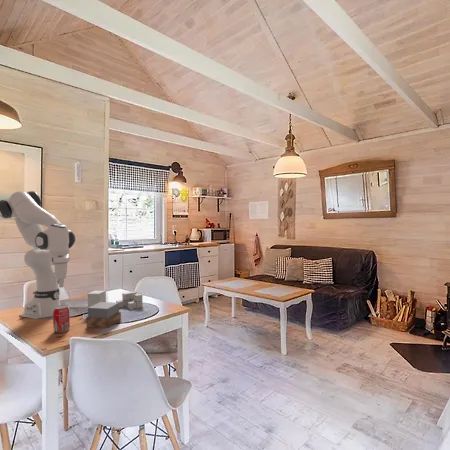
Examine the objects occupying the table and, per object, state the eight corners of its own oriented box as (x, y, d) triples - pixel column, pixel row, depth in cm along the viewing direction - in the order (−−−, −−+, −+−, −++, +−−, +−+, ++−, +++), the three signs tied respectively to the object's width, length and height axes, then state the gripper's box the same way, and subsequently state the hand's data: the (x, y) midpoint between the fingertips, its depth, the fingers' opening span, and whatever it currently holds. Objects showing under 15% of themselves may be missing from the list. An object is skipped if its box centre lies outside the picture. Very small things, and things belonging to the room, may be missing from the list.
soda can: (57, 328, 158) (56, 305, 157) (72, 328, 158) (71, 304, 158) (50, 334, 151) (50, 309, 150) (66, 333, 151) (65, 308, 151)
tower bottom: (86, 327, 160) (86, 317, 160) (101, 319, 172) (100, 310, 172) (107, 328, 158) (107, 319, 157) (120, 321, 169) (120, 311, 169)
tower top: (88, 317, 160) (87, 307, 160) (100, 311, 171) (100, 301, 171) (107, 318, 158) (107, 308, 158) (119, 312, 169) (118, 302, 169)
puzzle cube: (116, 307, 195) (115, 294, 195) (134, 303, 203) (134, 291, 203) (123, 311, 186) (123, 298, 186) (142, 307, 194) (142, 294, 193)
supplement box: (106, 312, 185) (106, 290, 184) (99, 316, 177) (99, 293, 177) (95, 311, 186) (94, 290, 186) (87, 315, 179) (87, 293, 178)
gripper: (51, 255, 160) (52, 282, 161) (53, 260, 143) (54, 290, 143) (64, 254, 164) (65, 281, 164) (68, 259, 146) (69, 288, 147)
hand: (60, 285), depth 154 cm, fingers open, 8 cm apart
